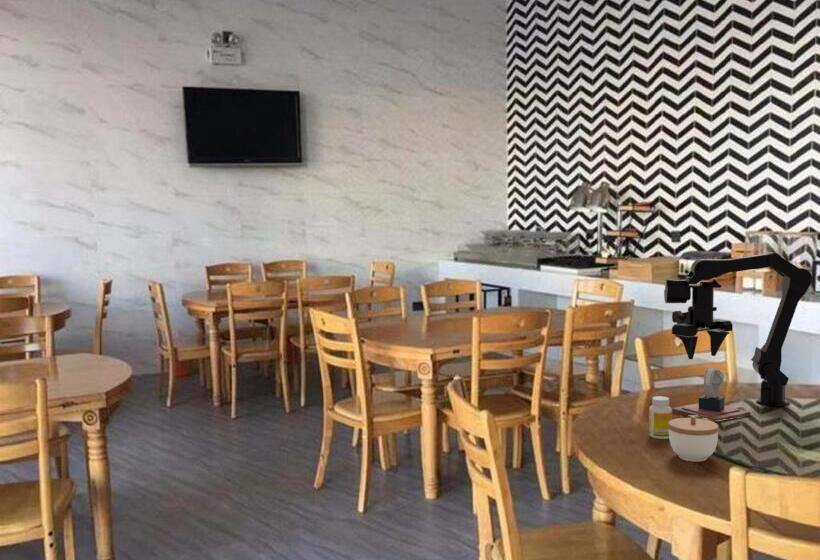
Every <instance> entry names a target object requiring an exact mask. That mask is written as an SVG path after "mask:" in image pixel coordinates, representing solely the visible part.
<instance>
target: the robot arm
mask: <svg viewBox="0 0 820 560" xmlns="http://www.w3.org/2000/svg"><path fill="white" fill-rule="evenodd" d="M764 268H770V269H772V270H773V271H774V272H776V273H777V274H778V275H780V276H781V277H782V284H781V298H780V301H779V304H778V307H777V310H776V313H775V316H774V319H773V321H772V323H771V327H770V329H769V332H768V335H767V338H766V341H765V343H764V344H763V346H761V348H760V347H758V346H756V347H755V349H754V355H753V356H752V358H751V359H750V360H751V361H752V368H753V370H754V371H755V372H756V374H758V375H759V377H760V379H761V380H762V381H761V382H760V399H757V400H755V402H756V403H757V404H762V405H766V406H770V407H774V408H777V407H781V406H785V405H790V404H791V402H790V401H787V400H786V386H787V384H788V381H789V377H788V376H787V375H786V374H785V373H783V372H782V370H781V366H782V359H783V358H782V356H783V355H782V349H783V347H784V343H785V341H786V338H787V335H788V332H789V329H790V326H791V323H792V321H793V318H794V315H795V314H796V313H795V312H796V309H797V308H798V304H799V302H800V301H801V299H802V298H803V297H804V296H805V295H806V293H807V291H808V290H809V289H810V287H811V285H812V283H813V275H812V273H811V272H810V271H809V270H808V269H806V268H803V267H798V266H796V265H795V264H793V263H792V262H790V261H788V260H787V259H785V258H784V257H782V256H781V254H779V253H776V252H772V251H771V252H766V253H762V254H756V255H755V254H754V255H748V256H747V255H746V256H741V257H734V258H732V257H731V258H727V259H723V258H722V259H721V258H719V259H717V258H698V259H696V260H694V262H693V263H692V264H691V266H690V271H689V273H688V274H687V275H686V276H685V277H684V279H671V278H669V279H668V278H667V279H665V285H664V291H663V297H664V303H665V304H687V302H688V301H690V300H691V305H690V306H688V308H687V311H686V312H682V311H681V310H674V311H672V313H671V318H672V319H671V320H672V322H673V323H674V325H673V326H671V334H672V335H674V336H675V337H676V338H678V339H679V340H681V342H682V345H683V347H684V349H685V353H686V355H687V358H688V360H694V356H695V352H696V347H697V343H698V338H699V336H697V334H698V332H703V331H706V332H707V335H709V340H710V342H709V343H710V355H711V356H712V357H715V356H716V355H717V354H718V351H719V350H720V347H721V346H722V344H723V343H724V341H725V339H726V337H727V335H729V334H730V332H732V331H733V326H734V325H733V323H732V321H731V320H728V319H727V320H726V319H720V318H719V319H718V318H716V319H714V312H716V311H717V309H718V308H717V306H714V297H715V296H714V292H715V291H714V289H720V288H722V284H720V283H719V282H718V281H717V279H715V278H718V277H721V276H724V275H726V274H729V273H737V272H743V271H744V272H745V271H750V270H751V271H752V270H757V269H758V270H759V269H764ZM709 280H711V281H709Z"/></svg>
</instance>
